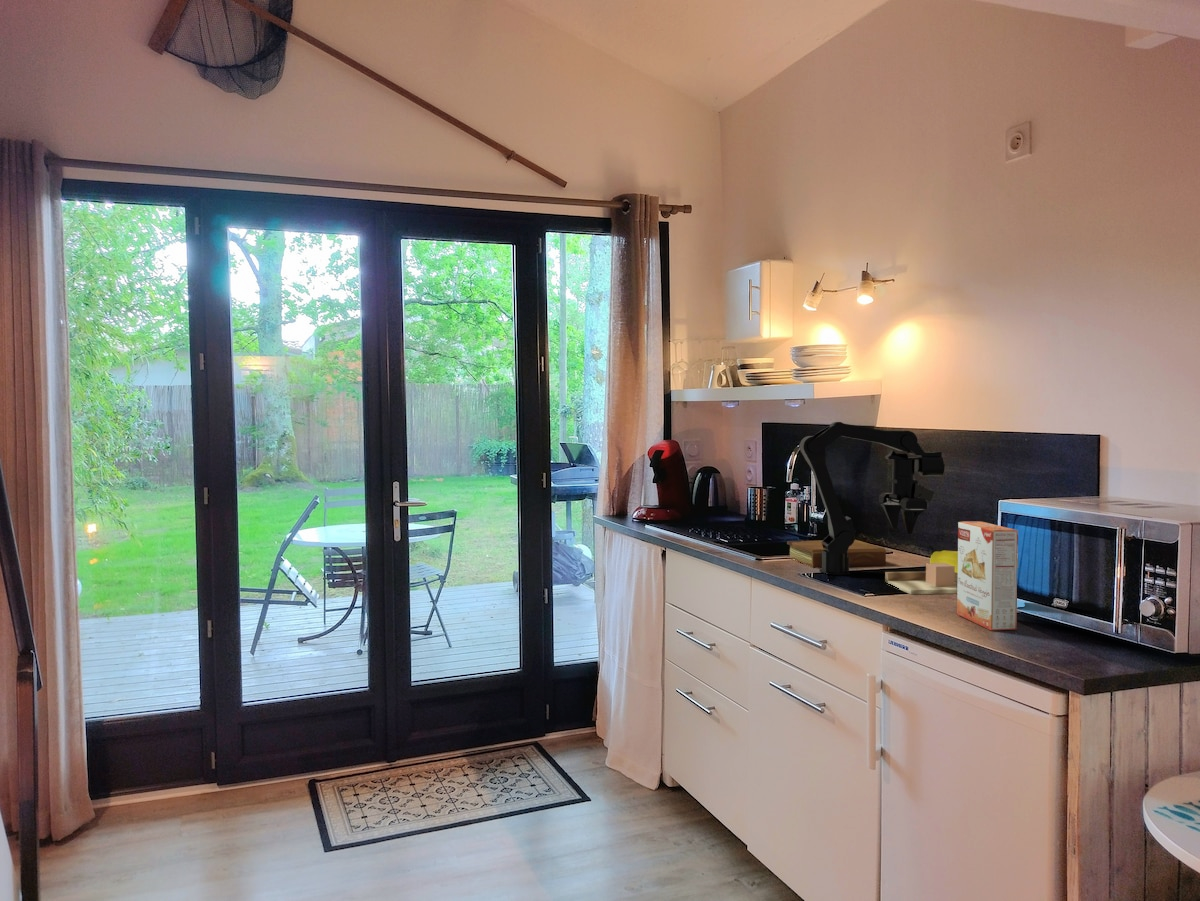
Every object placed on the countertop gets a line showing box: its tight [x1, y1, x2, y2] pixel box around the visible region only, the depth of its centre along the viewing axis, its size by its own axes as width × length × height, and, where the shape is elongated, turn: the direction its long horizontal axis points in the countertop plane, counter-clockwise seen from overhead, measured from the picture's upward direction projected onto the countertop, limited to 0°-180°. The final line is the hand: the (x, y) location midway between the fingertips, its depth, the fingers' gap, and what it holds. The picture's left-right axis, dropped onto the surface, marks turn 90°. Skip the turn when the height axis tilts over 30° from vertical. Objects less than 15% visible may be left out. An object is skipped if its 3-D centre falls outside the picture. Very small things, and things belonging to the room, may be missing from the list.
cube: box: [925, 562, 955, 586], centre depth 216 cm, size 5×5×5 cm
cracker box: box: [956, 520, 1019, 632], centre depth 179 cm, size 14×6×21 cm, turn 5°
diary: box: [786, 539, 887, 568], centre depth 257 cm, size 23×19×6 cm
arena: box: [884, 570, 958, 595], centre depth 217 cm, size 18×14×3 cm
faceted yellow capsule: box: [929, 550, 958, 573], centre depth 235 cm, size 18×7×8 cm
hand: (901, 531), depth 236 cm, fingers open, 9 cm apart
